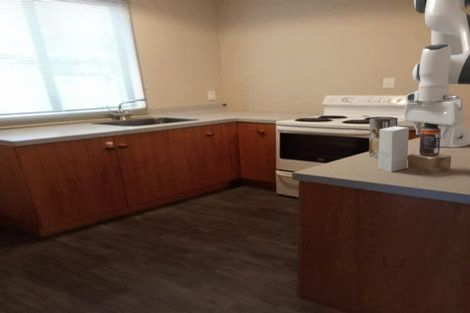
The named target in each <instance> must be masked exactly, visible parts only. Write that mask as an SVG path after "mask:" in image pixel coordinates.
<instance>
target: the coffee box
mask: <svg viewBox="0 0 470 313" xmlns="http://www.w3.org/2000/svg"><path fill="white" fill-rule="evenodd" d="M398 120H399V119H398V117H382V116H380V117H379V116H376V117H372V118H369V136H368V137H369V140H368V142H369V144H368V145H369V146H368V148H369V150H368V151H369V152H368V154H369V155H368V156H369V157H373V158H379V134H380V129H384V128H389V127H394V126H398Z"/></svg>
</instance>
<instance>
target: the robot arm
mask: <svg viewBox="0 0 470 313" xmlns="http://www.w3.org/2000/svg"><path fill="white" fill-rule="evenodd" d="M413 5H414V8H415V10H416V12H417V13H419V14H424V22H425V25H426V26H427V28H429V29H430V31H431V33H430V35H431V36H430V40H431V41H430V44H431V45H427V46H425V47H424V48H422V53H421V55H420V56H421V57H420V61H419V62H417V63H416V64H415V66H414V67H413V69H412V73H411V74H412V79H413V80H414V82H415V83H416V84H418V88H417V90H416V91H413V92H411V93H408V94H406V95H405V101H406V103H405V104H404V115H403V116H404V117H403V118H404V120H405V121H406V122H411V123H413V127H414V129H415V135H416V136H420V134H421V129H422V127H421V126H422V124H424V123H425V122H427V123H430V124H438V128H440V130H441V133H438V135H439V136H438V138H440V147H442V148H462V147H466V146H470V132H469V129H468V128H466V126H464V125H462V124H463V123H464V108H463V105H464V104H463V103H464V102H463V99H462V98H461V97H460V96H459V95H456V94H455V93H453V92H451V91H450V85H470V14H468V13H466V12H464V10H462V7H464V8H465V9H467V8H468V7H469V6H470V0H413Z"/></svg>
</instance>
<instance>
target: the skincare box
mask: <svg viewBox="0 0 470 313" xmlns="http://www.w3.org/2000/svg"><path fill="white" fill-rule="evenodd" d="M409 132H410V128H409V127H405V126H398V125H397V126H394V127H389V128H384V129H380V134H379V157H378V162H377V163H378V167H377V168H378V169H379V170H382V171H386V172H390V173H393V172H396V171H400V170H403V169H408V155H409V154H408V151H409V134H410V133H409Z"/></svg>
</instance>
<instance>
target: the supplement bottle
mask: <svg viewBox="0 0 470 313" xmlns="http://www.w3.org/2000/svg"><path fill="white" fill-rule="evenodd" d="M423 125H424V126H423V127H421V134H420V135H419V151H418V153H420V154H421V155H425V156H437V155H439V154H440V149H441V148H440V138H438V136H439V135H438V133H441V130H440V128H438V124H430V123H427V122H425V123H423Z"/></svg>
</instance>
